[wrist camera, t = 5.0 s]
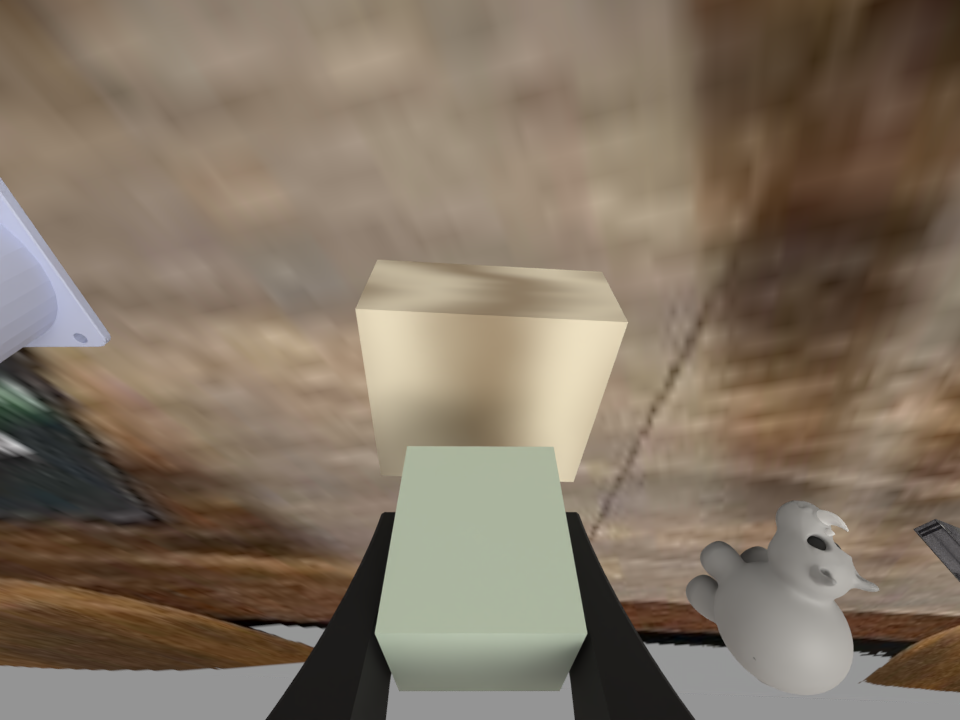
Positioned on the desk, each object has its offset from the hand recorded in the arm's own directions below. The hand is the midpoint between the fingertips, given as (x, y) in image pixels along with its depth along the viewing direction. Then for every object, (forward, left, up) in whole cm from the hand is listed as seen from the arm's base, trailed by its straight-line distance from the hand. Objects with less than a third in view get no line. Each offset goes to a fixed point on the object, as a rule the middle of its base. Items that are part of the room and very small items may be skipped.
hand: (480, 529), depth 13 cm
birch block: (0, 0, -9) cm, 9 cm away
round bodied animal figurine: (+20, -16, -9) cm, 27 cm away
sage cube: (0, 0, -2) cm, 2 cm away
